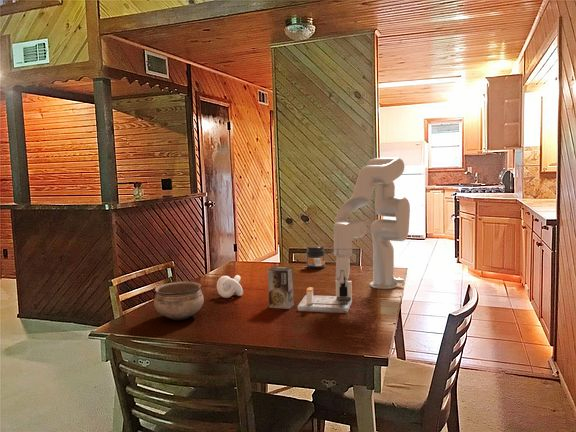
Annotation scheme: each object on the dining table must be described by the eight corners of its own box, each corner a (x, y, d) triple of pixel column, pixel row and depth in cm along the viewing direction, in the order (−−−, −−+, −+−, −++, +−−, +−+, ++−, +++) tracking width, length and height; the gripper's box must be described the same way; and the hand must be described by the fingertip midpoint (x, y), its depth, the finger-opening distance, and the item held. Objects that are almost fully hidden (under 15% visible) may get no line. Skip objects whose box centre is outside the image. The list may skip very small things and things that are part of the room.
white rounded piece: (250, 295, 216) (250, 275, 215) (230, 301, 208) (229, 281, 207) (234, 291, 224) (233, 272, 223) (214, 296, 215) (213, 277, 214)
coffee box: (294, 304, 200) (293, 267, 198) (289, 309, 194) (288, 270, 192) (273, 303, 203) (272, 266, 201) (268, 307, 197) (267, 269, 195)
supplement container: (319, 270, 262) (318, 248, 261) (303, 268, 268) (302, 247, 266) (328, 266, 271) (328, 245, 269) (312, 264, 276) (311, 244, 275)
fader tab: (313, 301, 196) (313, 287, 195) (311, 303, 192) (311, 290, 191) (308, 300, 196) (308, 287, 195) (306, 303, 192) (306, 289, 191)
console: (351, 301, 202) (351, 296, 202) (347, 313, 187) (347, 307, 186) (305, 299, 207) (305, 294, 207) (297, 310, 191) (297, 305, 191)
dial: (352, 296, 202) (352, 279, 201) (350, 300, 196) (350, 283, 195) (337, 295, 203) (336, 279, 202) (335, 299, 197) (334, 282, 197)
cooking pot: (197, 328, 175) (195, 295, 173) (146, 329, 175) (143, 296, 174) (210, 307, 199) (208, 278, 198) (165, 308, 200) (163, 279, 199)
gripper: (336, 248, 206) (337, 289, 208) (331, 255, 190) (332, 300, 192) (353, 248, 204) (354, 290, 206) (350, 255, 189) (351, 301, 191)
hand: (343, 294), depth 199 cm, fingers closed on dial, 2 cm apart
